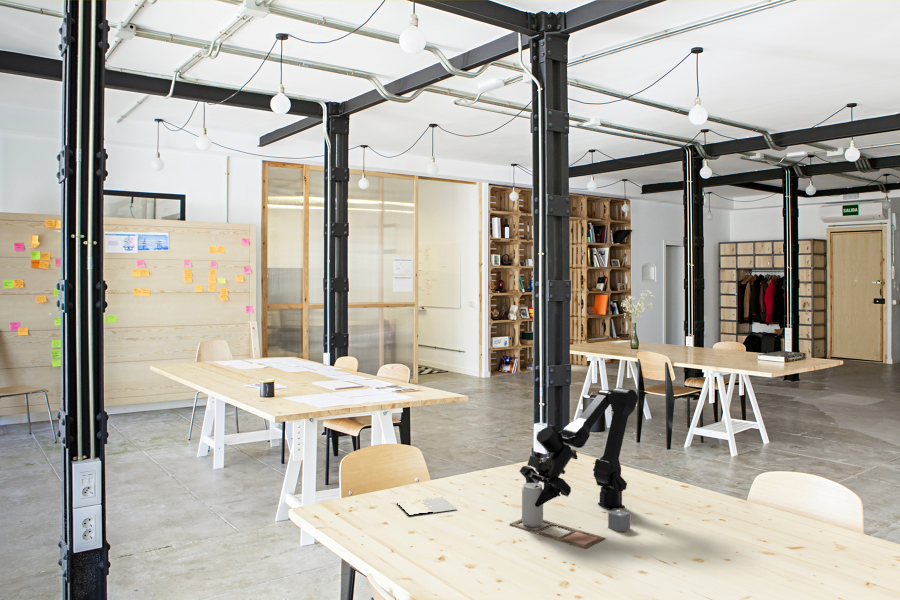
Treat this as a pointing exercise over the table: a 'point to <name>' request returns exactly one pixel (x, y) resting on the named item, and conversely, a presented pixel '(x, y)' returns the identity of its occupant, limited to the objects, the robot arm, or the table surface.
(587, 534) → the brown divided frame
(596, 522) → the table surface
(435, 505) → the paper stack
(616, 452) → the robot arm
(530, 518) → the beverage can
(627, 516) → the grey cube
